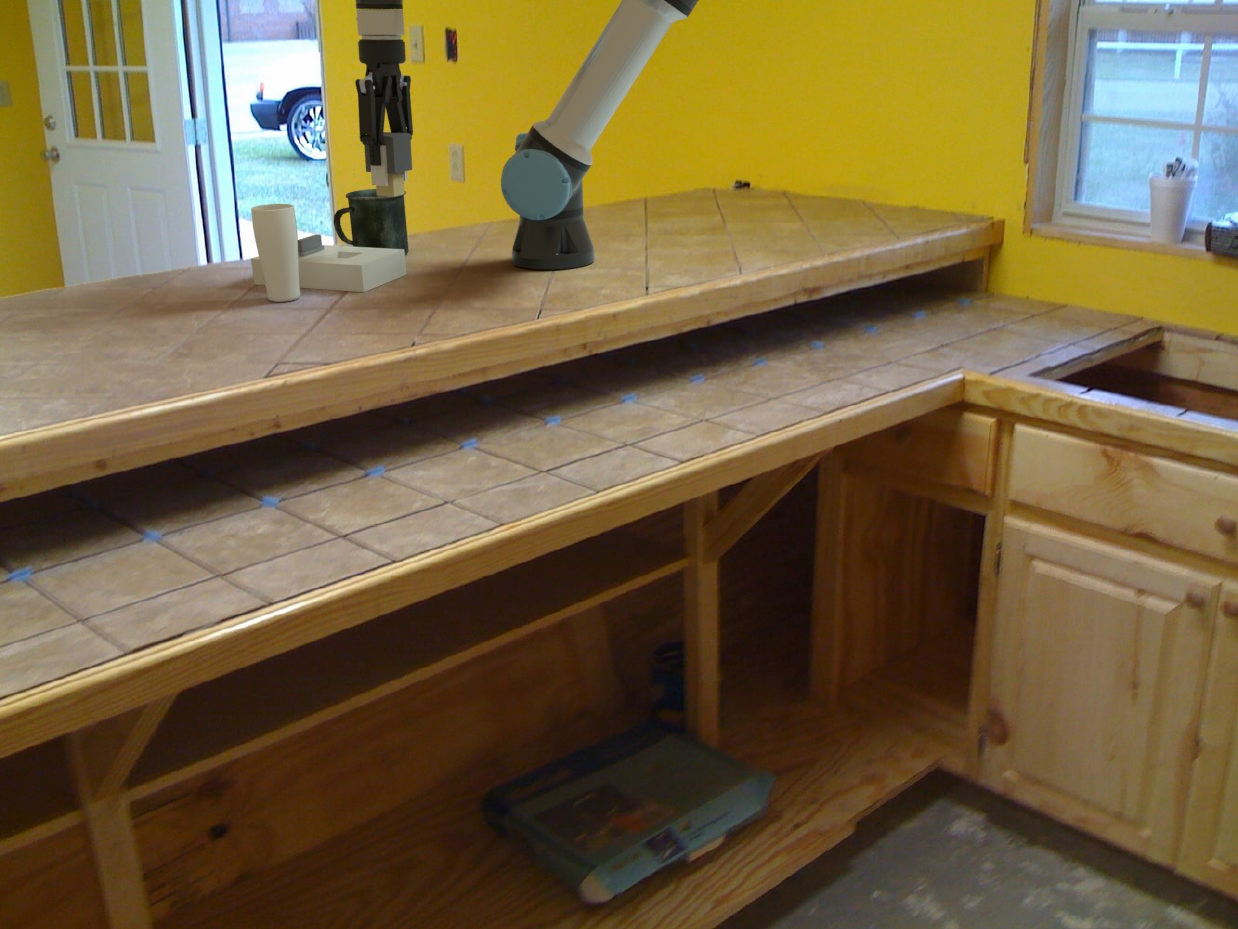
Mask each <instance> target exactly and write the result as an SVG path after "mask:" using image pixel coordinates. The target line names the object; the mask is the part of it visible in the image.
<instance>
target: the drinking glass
mask: <svg viewBox="0 0 1238 929" xmlns="http://www.w3.org/2000/svg"><path fill="white" fill-rule="evenodd" d="M251 222H252V229H253V235H254V240H255V246H256V248H257V254H258V256H259V259H260V263H261V268H262V273H263V277H264V282H265V285H264V286H265V294H266V298H267V300H268V301H270V302H273V303H274V302H275V303H287V302H294V301H296V300H298V299H299V298H300V297H301V288H300V286H299V264H298V240H299V237H298V225H297V217H296V211H295V206H294V205H293V204H291V203H271V204H270V203H269V204H261V205H256V206H253V207H251Z"/></svg>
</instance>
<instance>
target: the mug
mask: <svg viewBox="0 0 1238 929" xmlns="http://www.w3.org/2000/svg"><path fill="white" fill-rule="evenodd" d="M404 192H405V194H403V195H399V196H395V197H390V196H377V191H376V188H369V189H367V188H366V189H359V190H354V191H351V192H350V191H349V192H346V194H345V198H347V201H348V207H343V208H341V209H338V210H337V211H336V212H335V213H334V216H333V227H334V229H335V232H336V235H337V236H338V238H339V240H341V241H342V243H343V242H344V243H346V245H349V246H352V247H369V248H387V249H404V252H405V257H406V256H407V255H408V254H409V251H410V250H409V240H408V238H409V237H408V228H407V217H406V206H405V195H406V194H407V192H406V191H405V190H404ZM347 213H349V221H350V229H351V230H350V231H351V239H352V240H350V239H349V238H348V237H347V236H346V235H345V232H344V231H343V227H342V225H341V218H342V217H343V215H345V214H347Z"/></svg>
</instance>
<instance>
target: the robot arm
mask: <svg viewBox="0 0 1238 929" xmlns="http://www.w3.org/2000/svg"><path fill="white" fill-rule="evenodd" d="M403 2H404V0H355V10H356V25H357V35H359V36H361V38H360V39H359V40H358V42H357V46H358V59H359V62H360V63H361V64H363V65H365V68H366V69H365V76H364V77H363V78H362V79H361V78H360V79H359V78H357V79H355V82H354V83H355V89H356V92H357V103H358V107H357V108H358V124H359V125H358V126H359V140H360V142H361V143H362V145H363V146H364V145H369V154H370V164H371V172H370V174H371V175H370V176H371V186H376V185H378V186H388V173H387V157H386V146H385V145H382V143H383V132H385V130H384V128H385V118H386V115H387V121H388V124H389V130H390V132H392V133H410V137H411V140H412V137H413V135H414V130H413V129H414V128H413V115H412V103H411V101H412V100H411V82H412V79H411V75H403V74H402V71H401V68H400V67H401V66H400V65H401V64H405V62H406V61H407V59H406V58H407V57H406V42H405V41H404V39H402V36H404V35H405V34H406V33H405V22H404V20H405V19H404V5H403V4H404V3H403ZM698 2H699V0H621V1H620V2H619V4H618V6H617V8H616V9H615V11H614V12H613V14H612V16H610V19H609V21H608V22H607V24H606V25H605V27H604V28H603V30H602V31H601V33H600V34H599V36H598V37H597V39H596V41H595V43H594V45H593V46H592V47H591V49H590V50H589V52H588V54H587V55H586V57H585V59H584V60H583V62H582V63H581V65H580V67H579V68H578V70H577V72H576V73H575V75H574V76H573V78H572V79H571V81H570V83H569V85H568V86H567V87H566V89H565V90H564V92H563V94H562V96H561V97H560V98H559V101H558V102H557V103H556V105H555V107H554V108H553V110H552V111H551V113H550V115H549V116H548V117H547V118H546V119H544V120H540V121H535V122H534V123H533V124H532V126H531V127H530V129H529V130H528V132H522V133H518V134H517V136H516V138H515V145H514V150H515V153H514V154H513V155H511V156H510V158H508V160H506V162H505V164H504V166H503V168H502V171H501V177H500V188H501V189H500V190H501V193H502V196H503V199H504V201H505V202H506V204H507V205H508V206H509V208H510V209H511V210H512V211H513V212H515V214H516V215H518V216H519V220H518V226H517V229H516V230H517V231H516V234H515V237H514V241H513V245H512V248H511V262H512V264H513V265H514V266H516V267H518V268H523V269H532V270H563V269H574V268H580V267H583V266H584V267H585V266H587V265H590V264H592V263H594V262H595V248H594V245H593V242H592V239H591V235H590V232H589V230H588V227H587V224H586V222H585V221H586V220H585V217H584V190H583V188H584V187H583V186H584V185H583V179H584V177H585V176H586V174H588V171H589V169H591V167H592V165H593V164H594V161H593V155H592V148H593V147H594V145H595V144H596V142H597V141H598V139H599V137H600V136H601V134H602V132H604V130H605V128H606V126H607V125H608V124H609V122H610V121H611V119H612V117H613V116H614V114H615V113H616V111H617V109H618V108H619V106H620V105H621V103H622V102H623V101H624V99H625V97H626V96H627V94H628V93H629V91H630V90H631V87H633V85H634V83H635V82H636V80H637V79H638V77H639V76H640V74H641V72H642V71H643V69H644V68H645V66H646V65H647V63H648V61H649V60H650V58H651V57H652V56H653V54H654V52H655V51H656V49H657V48H658V46H659V44H660V43H661V41H662V40H663V39H664V37H665V35H666V34H667V33H668V31H669V29H670V28H671V26H672V25H673V24H674V23H675V22H678V21H681V20H687V19H688V17H689V16H690V15H691V13H692V12H693V10H694V8H695V7H696V5H697V4H698ZM376 136H377V137H376ZM403 174H404V182H408V181H409V180H408V171H405V172H403Z"/></svg>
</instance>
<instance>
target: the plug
mask: <svg viewBox="0 0 1238 929" xmlns="http://www.w3.org/2000/svg"><path fill="white" fill-rule="evenodd" d="M376 137H377V136H376ZM382 145H385V146H386V157H387V173H388V186H378V185H375V189H376V191H377V196H390V197H395V196H399V195H403V194H405V192H406V191H405V181H404V174H403V172H405V171H407V172H409V171H413V160H412V139H411V137H410V133H392V132H391V131H390V132H389V131H384V132H383V143H382ZM363 146H364V162H365V173H371V164H370V154H369V145H363ZM404 191H405V192H404ZM405 195H406V194H405Z"/></svg>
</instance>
